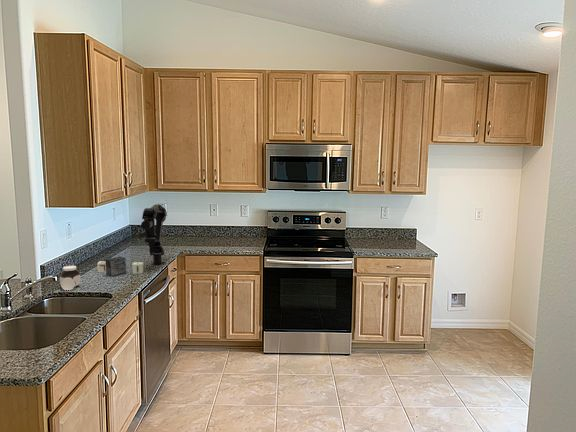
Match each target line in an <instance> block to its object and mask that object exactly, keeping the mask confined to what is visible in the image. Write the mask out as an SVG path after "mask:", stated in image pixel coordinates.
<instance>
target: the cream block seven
mask: <svg viewBox="0 0 576 432" xmlns="http://www.w3.org/2000/svg"><path fill="white" fill-rule="evenodd" d="M96 267H97V273H106V262H105V260H102V261H101V260H100V261H98V262H97V266H96Z"/></svg>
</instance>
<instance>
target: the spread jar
mask: <svg viewBox="0 0 576 432" xmlns="http://www.w3.org/2000/svg"><path fill="white" fill-rule="evenodd" d="M81 281H82V280H81V273H80V271H79V270H78V269H77V266H76V265H66V266H63V267H62V271H61V273H60V275H59V283H60V284H59V285H60V286H61V289H63V290H64V291H66V290H67V292H68V290H69V291H73V289H76V288H78V287H79V286H80V285H81ZM75 287H76V288H75Z"/></svg>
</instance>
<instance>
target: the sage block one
mask: <svg viewBox="0 0 576 432" xmlns="http://www.w3.org/2000/svg"><path fill="white" fill-rule="evenodd" d="M131 265H132V275H133V274H134V275H135V274H136V275H137V274H143V273H144V261H140V262H139V261H137V262H135V261H134V262H132V264H131Z"/></svg>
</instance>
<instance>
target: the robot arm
mask: <svg viewBox="0 0 576 432" xmlns="http://www.w3.org/2000/svg"><path fill="white" fill-rule="evenodd" d="M167 216H168V212H167V210H166V208H165V207H163V206H162V204H154V205H153V206H151V207H148V208H147V207H146V208H144V209H143V212H142V217H141V219H142V220H143V221H141V223H140V226H141V227H140V228H141V229H143V230H144V231H140V232H138V233H137V234H136V236H137V239H138V240H140V239H143V238H145V239H144V242H145V243H148V246H149V249H148V250H149V256H152V263H151V264H152V265H163V260H162V259H163V258H162V256H164V255H165V250H164V247H163V244H162V242H161V240H162V231H163V225H164V224H163V223H164V222H165V221H166V219H167Z"/></svg>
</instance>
